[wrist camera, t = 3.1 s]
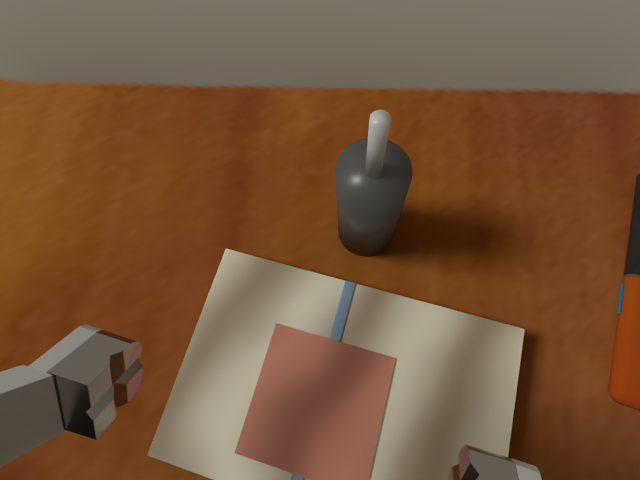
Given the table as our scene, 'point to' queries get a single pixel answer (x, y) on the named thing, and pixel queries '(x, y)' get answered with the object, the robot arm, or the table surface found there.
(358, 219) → the grey cylinder with rod
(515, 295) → the table surface
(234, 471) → the cream flat block
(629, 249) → the phone
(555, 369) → the table surface
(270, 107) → the table surface
